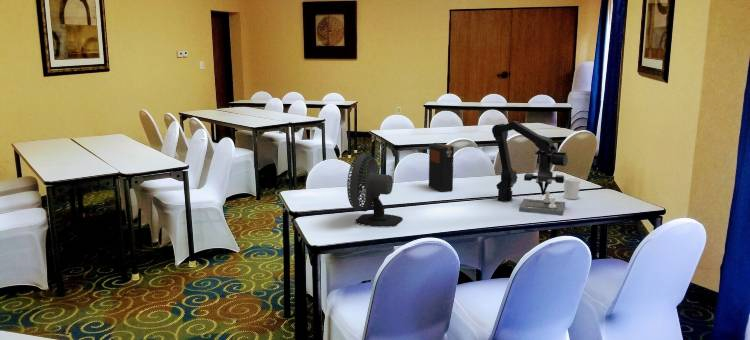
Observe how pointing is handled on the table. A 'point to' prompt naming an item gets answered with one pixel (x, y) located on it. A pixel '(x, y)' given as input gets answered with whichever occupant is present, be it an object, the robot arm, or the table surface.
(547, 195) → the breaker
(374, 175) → the fan
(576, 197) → the white cup
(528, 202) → the board
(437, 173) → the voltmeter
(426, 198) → the table surface
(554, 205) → the block
